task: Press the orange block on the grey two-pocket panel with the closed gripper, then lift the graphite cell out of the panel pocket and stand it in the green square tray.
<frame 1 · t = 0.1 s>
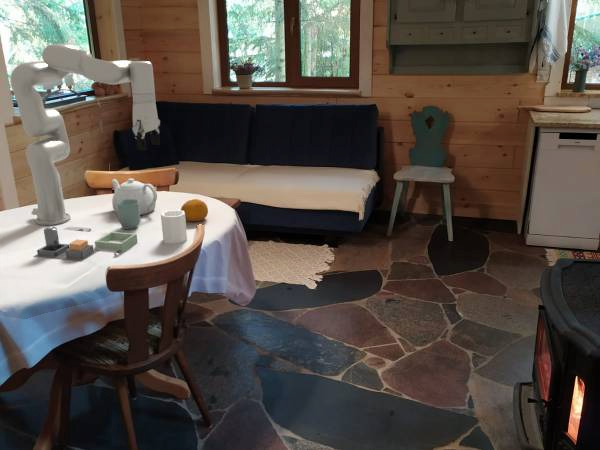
hand: (148, 147, 199), 31 cm above the table, fingers open, 9 cm apart
handheld gaming console: (68, 237, 203), on the table
fruit: (195, 220, 220), on the table
orange block: (78, 245, 182), point 4 cm above the table, slide at 0.0 cm
grey two-pocket panel: (67, 256, 185), on the table
teapot: (135, 211, 232), on the table
cup: (130, 227, 212), on the table
mug: (176, 238, 201), on the table
green square tray: (117, 246, 193), on the table
cell: (53, 251, 186), point 1 cm above the table, touching grey two-pocket panel
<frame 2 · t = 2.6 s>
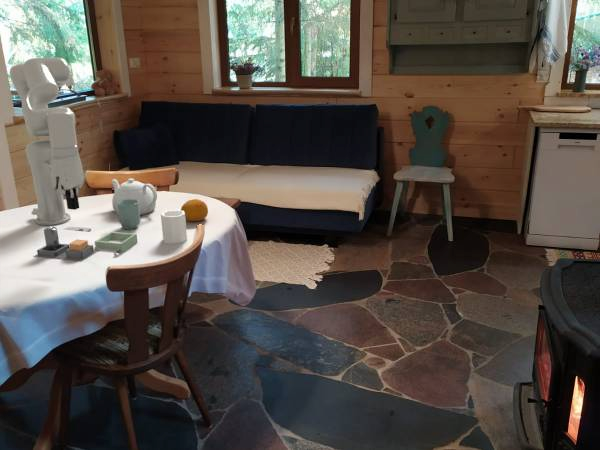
hand: (73, 208, 178), 17 cm above the table, fingers closed
nothing on the table moved.
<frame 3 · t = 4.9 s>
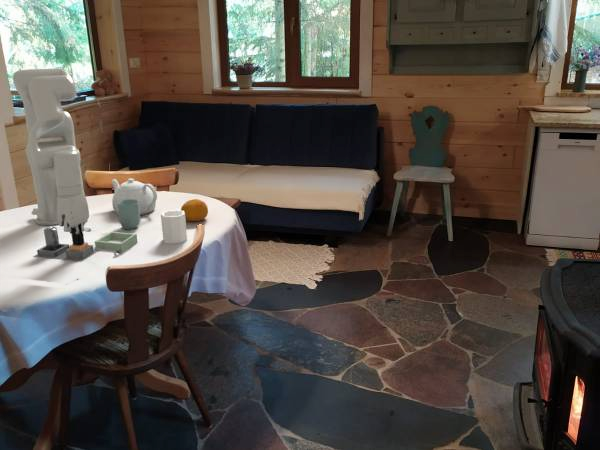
hand: (78, 244, 182), 5 cm above the table, fingers closed
orange block: (79, 247, 182), point 4 cm above the table, slide at 0.7 cm, touching gripper
everything else where it was.
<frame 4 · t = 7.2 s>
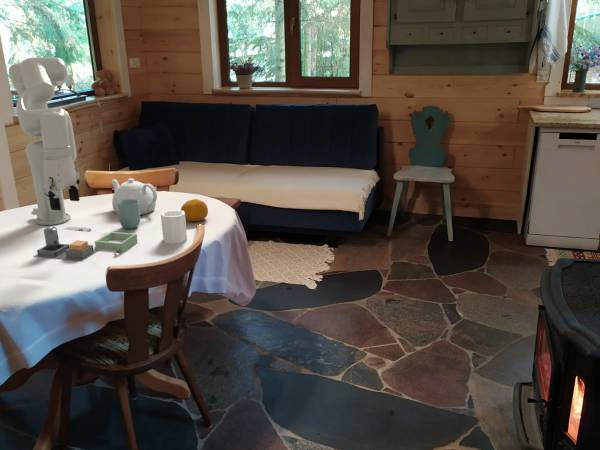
hand: (65, 205, 178), 18 cm above the table, fingers open, 9 cm apart
orange block: (79, 246, 182), point 4 cm above the table, slide at 0.3 cm
everything else where it was.
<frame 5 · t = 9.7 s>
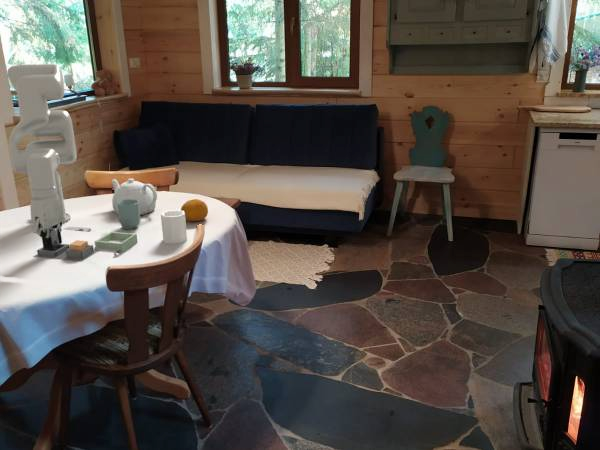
hand: (52, 245, 185), 4 cm above the table, fingers closed on cell, 4 cm apart
cell: (53, 251, 186), point 1 cm above the table, touching grey two-pocket panel, gripper
everything else where it was.
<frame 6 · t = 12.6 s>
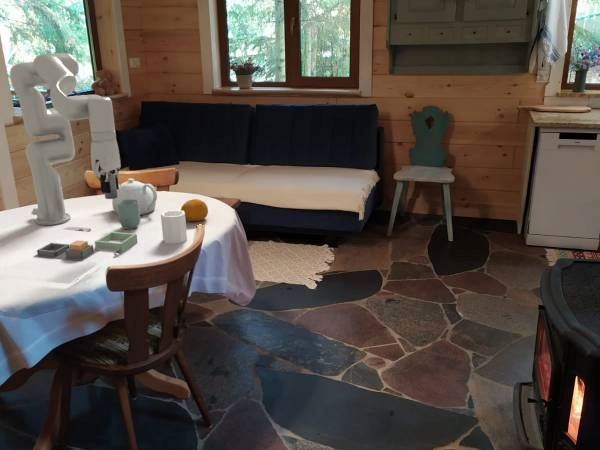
hand: (110, 190, 186), 20 cm above the table, fingers closed on cell, 4 cm apart
cell: (111, 197, 187), point 18 cm above the table, touching gripper
everything else where it was.
when the fingers open (5 cm above the table, at t = 15.6 s): cell drops 1 cm, resting on green square tray.
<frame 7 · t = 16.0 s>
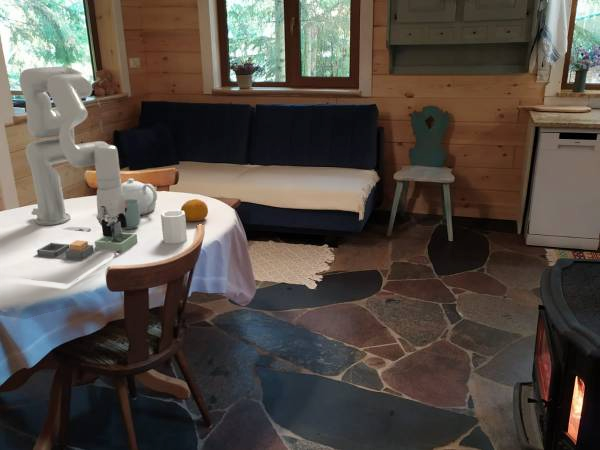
hand: (115, 231, 191), 5 cm above the table, fingers open, 8 cm apart
cell: (117, 244, 193), point 1 cm above the table, touching green square tray
everything else where it was.
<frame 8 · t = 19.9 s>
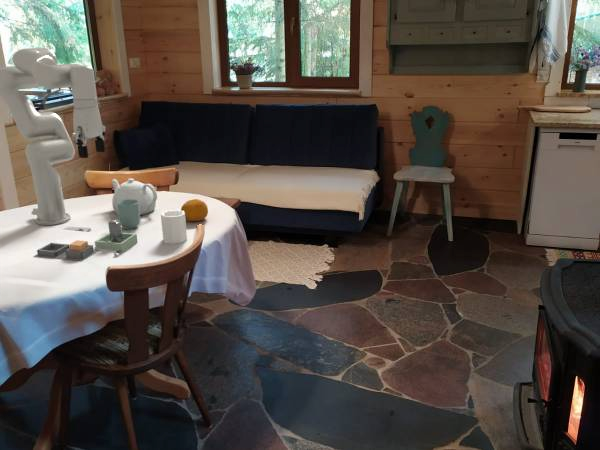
hand: (92, 154, 192), 30 cm above the table, fingers open, 9 cm apart
nothing on the table moved.
at the end: cell inside the target area on the green square tray (0.1 cm from its centre), point 0.8 cm above the green square tray's base; cell tilted 0°; the gripper is holding nothing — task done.
